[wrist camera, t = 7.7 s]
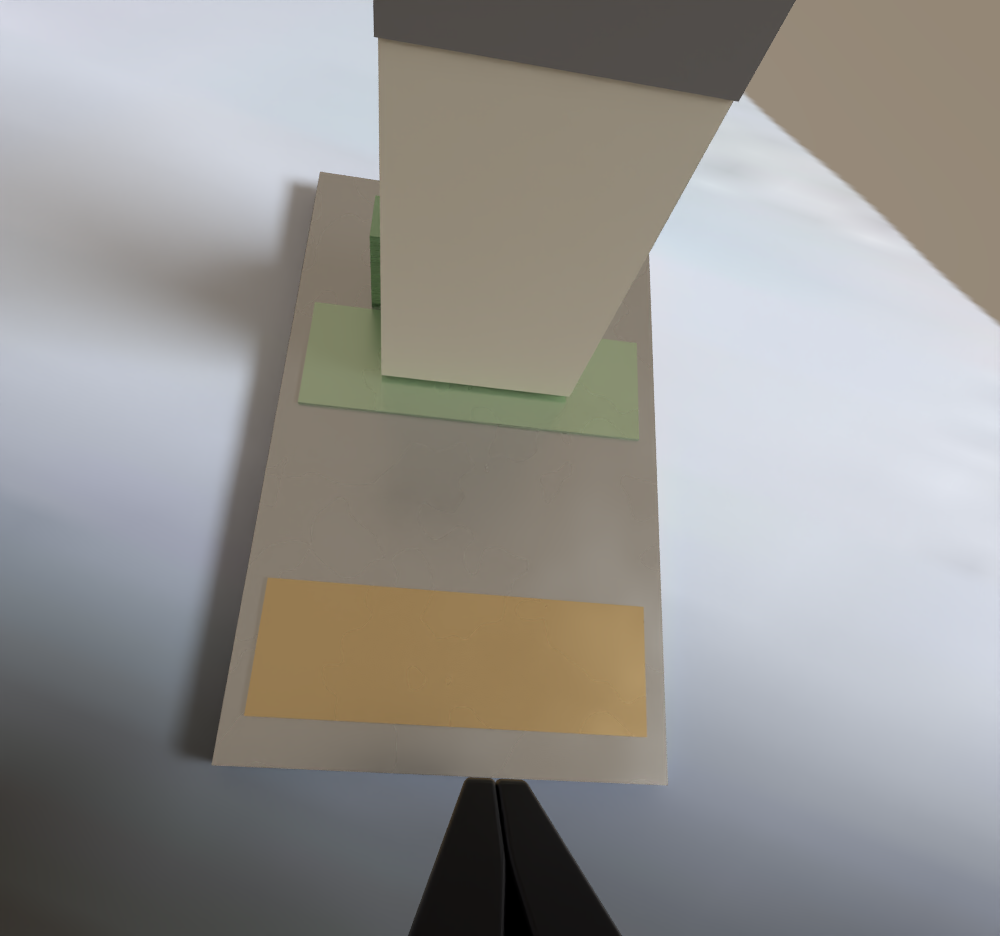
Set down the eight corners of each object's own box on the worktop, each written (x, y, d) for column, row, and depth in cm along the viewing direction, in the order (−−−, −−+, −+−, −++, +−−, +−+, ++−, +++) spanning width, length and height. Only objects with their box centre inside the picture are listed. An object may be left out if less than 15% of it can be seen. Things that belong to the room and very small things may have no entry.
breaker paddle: (571, 398, 19) (801, -11, 8) (379, 376, 18) (371, -98, 8) (572, 331, 19) (784, -121, 9) (388, 307, 19) (392, -208, 8)
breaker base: (655, 782, 16) (728, 797, 13) (219, 763, 15) (170, 773, 12) (638, 238, 22) (687, 146, 19) (322, 191, 21) (309, 83, 17)
